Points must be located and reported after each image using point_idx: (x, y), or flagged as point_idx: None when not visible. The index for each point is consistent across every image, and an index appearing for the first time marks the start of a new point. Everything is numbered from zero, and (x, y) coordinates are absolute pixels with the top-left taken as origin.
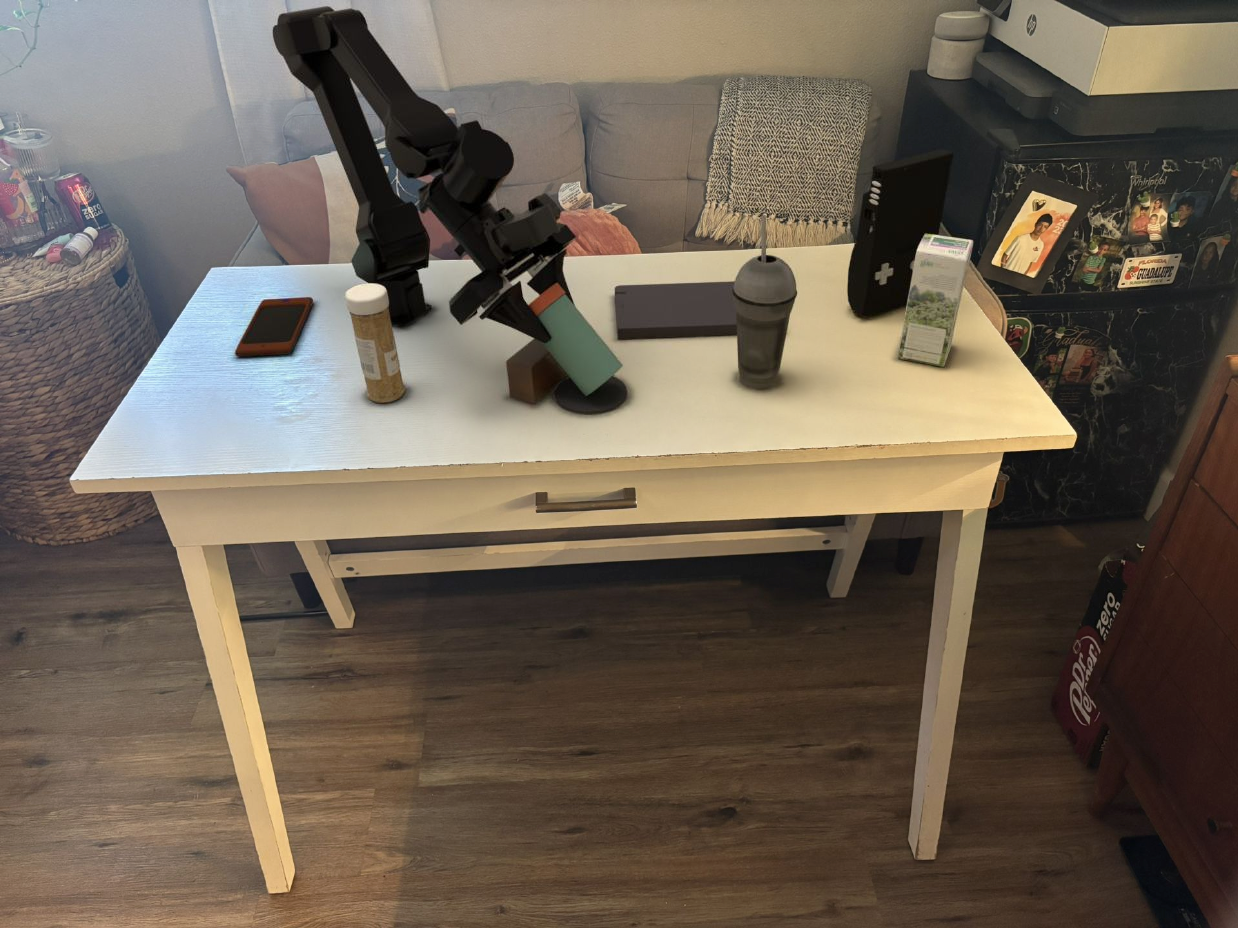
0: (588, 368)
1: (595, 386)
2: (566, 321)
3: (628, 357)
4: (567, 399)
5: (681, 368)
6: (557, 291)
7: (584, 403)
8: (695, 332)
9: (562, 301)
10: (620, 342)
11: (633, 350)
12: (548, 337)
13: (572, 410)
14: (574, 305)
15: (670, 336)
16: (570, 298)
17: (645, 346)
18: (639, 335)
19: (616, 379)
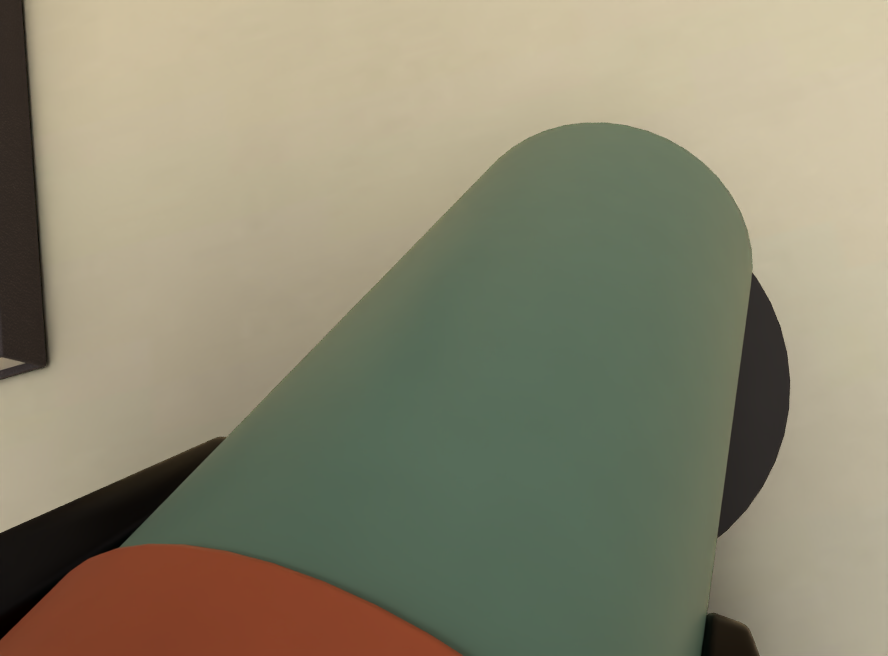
0: (733, 285)
1: (751, 266)
2: (594, 447)
3: (205, 278)
4: None
5: (282, 31)
6: (249, 649)
7: None
8: (10, 32)
9: (377, 533)
10: (73, 348)
11: (142, 271)
12: (753, 643)
13: (782, 431)
14: (134, 478)
15: (28, 136)
16: (64, 525)
17: (106, 226)
18: (29, 262)
19: None
